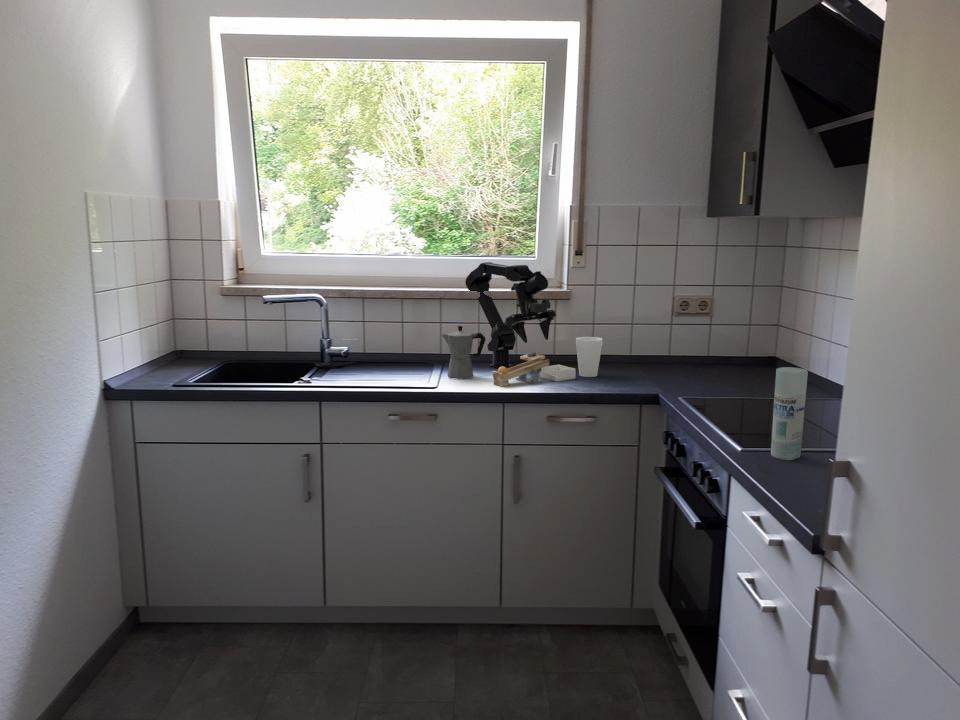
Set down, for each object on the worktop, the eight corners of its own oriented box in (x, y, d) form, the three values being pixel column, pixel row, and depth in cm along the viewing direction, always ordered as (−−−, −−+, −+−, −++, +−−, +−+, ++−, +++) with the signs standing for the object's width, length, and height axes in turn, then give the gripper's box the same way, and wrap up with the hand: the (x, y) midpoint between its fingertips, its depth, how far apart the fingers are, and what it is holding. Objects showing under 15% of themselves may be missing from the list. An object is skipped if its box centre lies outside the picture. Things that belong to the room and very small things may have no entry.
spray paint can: (764, 454, 166) (770, 369, 162) (780, 449, 170) (787, 366, 166) (790, 462, 161) (797, 373, 157) (806, 457, 164) (814, 370, 161)
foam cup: (593, 378, 250) (594, 341, 248) (570, 375, 256) (570, 339, 253) (606, 374, 258) (607, 338, 255) (583, 371, 263) (584, 336, 261)
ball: (497, 376, 241) (494, 368, 240) (504, 372, 242) (501, 363, 241) (503, 378, 238) (499, 370, 237) (510, 373, 240) (507, 365, 238)
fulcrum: (515, 379, 249) (515, 370, 248) (525, 378, 251) (525, 369, 251) (531, 384, 241) (531, 374, 241) (542, 382, 244) (542, 373, 243)
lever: (476, 378, 250) (474, 366, 249) (532, 359, 262) (530, 347, 261) (505, 387, 236) (503, 374, 235) (562, 366, 248) (560, 354, 247)
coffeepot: (439, 378, 250) (438, 327, 247) (444, 373, 260) (444, 323, 256) (483, 380, 248) (483, 328, 245) (487, 374, 257) (487, 324, 254)
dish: (539, 376, 253) (539, 367, 253) (558, 374, 258) (558, 364, 257) (555, 381, 246) (556, 371, 245) (575, 378, 250) (575, 368, 250)
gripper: (516, 293, 245) (527, 338, 243) (559, 289, 255) (570, 331, 253) (499, 304, 254) (510, 346, 252) (541, 299, 264) (552, 340, 262)
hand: (536, 341), depth 255 cm, fingers open, 9 cm apart
